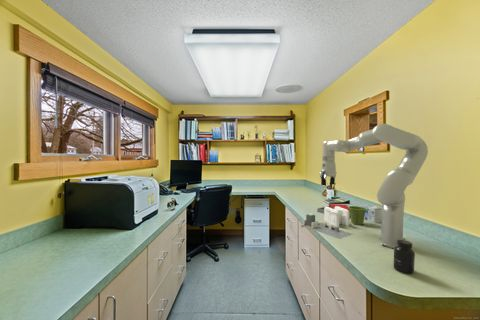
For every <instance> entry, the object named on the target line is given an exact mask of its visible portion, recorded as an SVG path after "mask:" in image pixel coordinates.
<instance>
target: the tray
mask: <svg viewBox="0 0 480 320" xmlns="http://www.w3.org/2000/svg"><path fill="white" fill-rule="evenodd" d="M325 207H329V205H327V206H322V207H318V208H317V213H321V214H324V208H325ZM349 219H351V216H349Z"/></svg>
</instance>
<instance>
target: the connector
mask: <svg viewBox="0 0 480 320" xmlns="http://www.w3.org/2000/svg"><path fill="white" fill-rule="evenodd" d="M305 219H306V225H307V226H310V227H311V225H312V222H316V215H315V214H314V213H311V212H310V213H307V214H306V217H305Z"/></svg>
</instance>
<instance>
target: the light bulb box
mask: <svg viewBox="0 0 480 320" xmlns="http://www.w3.org/2000/svg"><path fill="white" fill-rule="evenodd" d="M362 207H364V208H367V210H366V213H365V217H364V221H368V222H370V223H373V224H377V223H381V219H382V207H380V206H375V205H371V204H363V205H362Z"/></svg>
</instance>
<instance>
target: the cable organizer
mask: <svg viewBox="0 0 480 320" xmlns="http://www.w3.org/2000/svg"><path fill="white" fill-rule="evenodd" d="M324 207H325V208H324V213H323V219H324V220H323V221H324V222H327V224H329V225H331V224H333V225H334V227H336V226H338V227H339V228H340V225H342V226H344V227H349V226H350V218H349V216H350V213H349V211H348V210H347V209H344V208H341V207H339V206H335V209H332V208H330V207H327V206H324Z"/></svg>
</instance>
